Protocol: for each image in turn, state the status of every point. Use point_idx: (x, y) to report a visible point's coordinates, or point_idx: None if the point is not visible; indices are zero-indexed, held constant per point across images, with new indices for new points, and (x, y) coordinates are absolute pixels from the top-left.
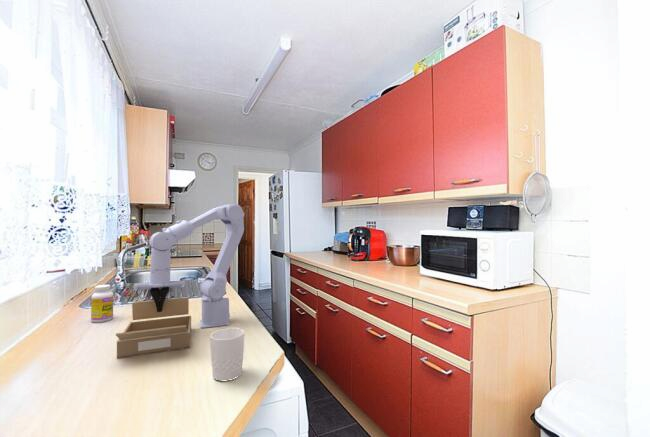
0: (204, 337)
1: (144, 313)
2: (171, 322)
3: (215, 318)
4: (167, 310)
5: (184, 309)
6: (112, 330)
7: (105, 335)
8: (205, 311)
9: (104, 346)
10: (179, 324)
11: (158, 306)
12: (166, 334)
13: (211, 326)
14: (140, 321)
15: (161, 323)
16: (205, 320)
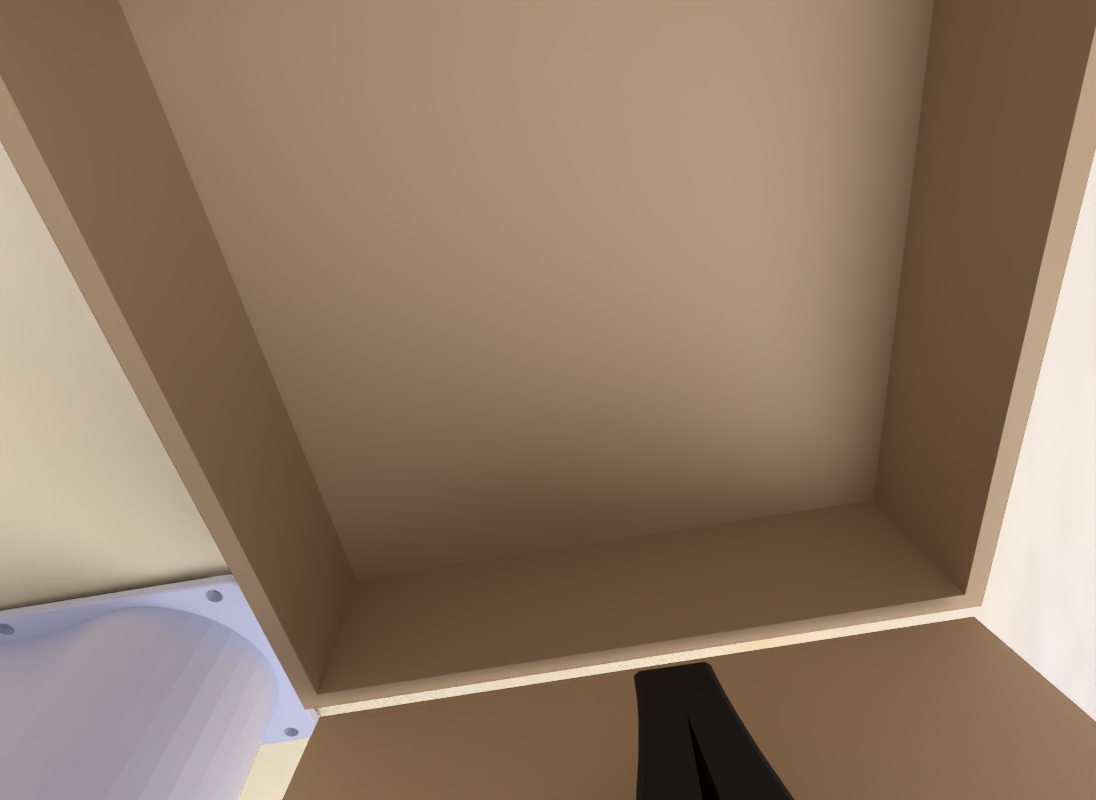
0: (75, 323)
1: (885, 698)
2: (523, 618)
3: (49, 675)
4: (576, 754)
5: (343, 779)
6: (1026, 647)
7: (1078, 557)
8: (113, 767)
9: (1093, 293)
10: (443, 605)
11: (716, 756)
12: (540, 459)
13: (136, 592)
14: (870, 612)
15: (627, 604)
16: (180, 661)
